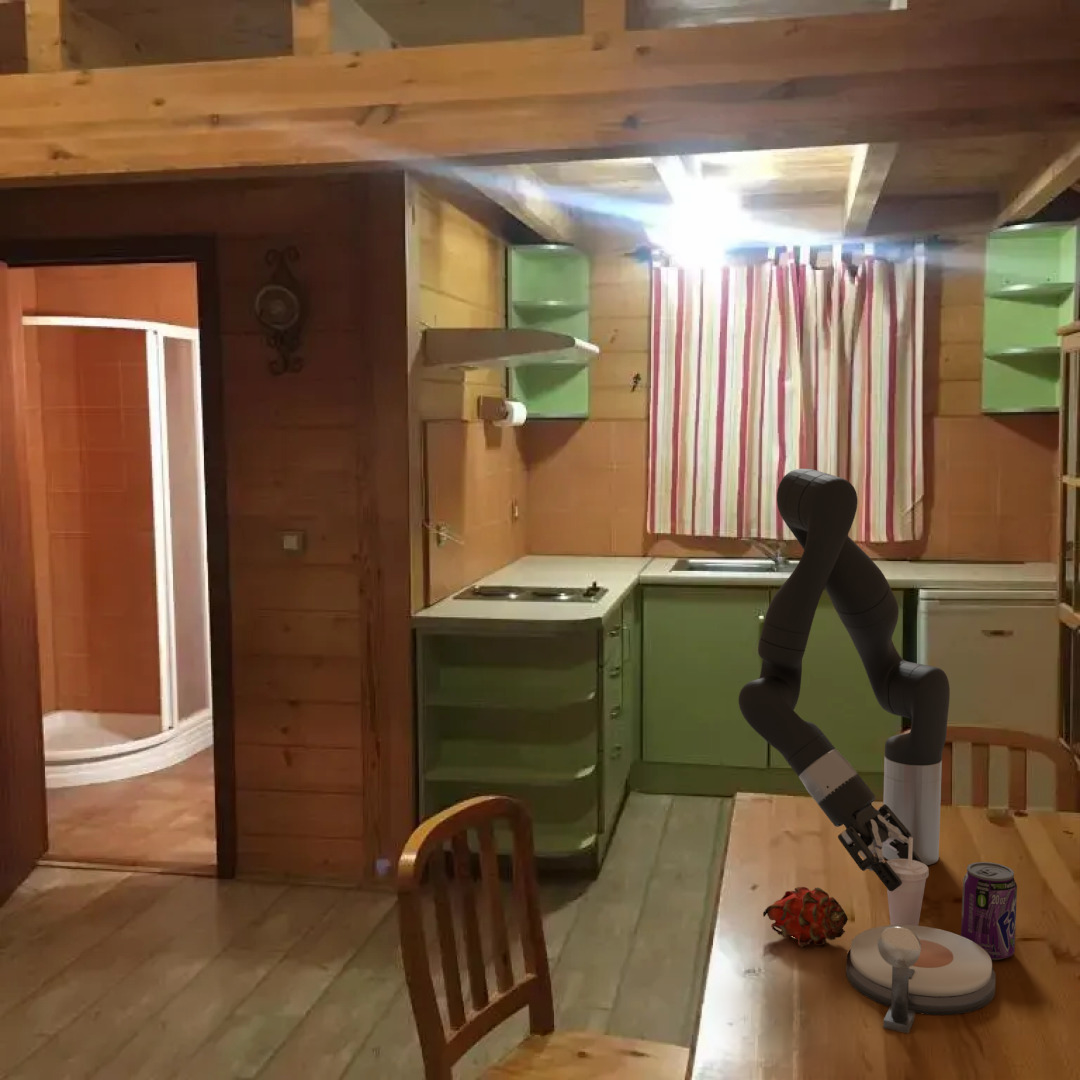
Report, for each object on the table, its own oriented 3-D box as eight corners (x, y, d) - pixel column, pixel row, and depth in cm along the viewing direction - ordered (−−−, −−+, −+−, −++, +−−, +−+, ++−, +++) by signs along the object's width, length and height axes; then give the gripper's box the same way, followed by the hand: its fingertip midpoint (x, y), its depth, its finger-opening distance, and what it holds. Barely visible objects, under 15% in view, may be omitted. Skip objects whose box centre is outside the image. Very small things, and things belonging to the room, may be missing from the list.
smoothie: (929, 941, 177) (932, 846, 175) (882, 937, 178) (885, 843, 176) (924, 922, 183) (927, 831, 181) (879, 919, 184) (882, 828, 183)
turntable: (867, 925, 177) (867, 913, 177) (1000, 951, 168) (1000, 938, 168) (835, 977, 161) (835, 964, 161) (980, 1008, 153) (981, 994, 152)
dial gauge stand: (884, 1008, 157) (886, 910, 156) (924, 1017, 155) (927, 917, 153) (875, 1025, 153) (877, 925, 151) (916, 1035, 151) (919, 933, 149)
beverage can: (988, 968, 168) (992, 883, 167) (949, 947, 174) (952, 866, 173) (1025, 957, 171) (1029, 874, 170) (985, 937, 178) (988, 857, 176)
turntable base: (864, 938, 178) (864, 925, 177) (1004, 965, 169) (1004, 951, 169) (830, 994, 161) (830, 980, 161) (983, 1028, 152) (984, 1012, 152)
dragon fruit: (853, 961, 174) (768, 960, 178) (854, 908, 180) (773, 908, 184) (842, 928, 169) (755, 927, 173) (844, 874, 175) (760, 875, 179)
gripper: (833, 785, 177) (908, 880, 172) (872, 762, 189) (944, 851, 183) (798, 813, 181) (870, 907, 175) (839, 789, 192) (908, 877, 187)
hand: (908, 878), depth 179 cm, fingers open, 8 cm apart
